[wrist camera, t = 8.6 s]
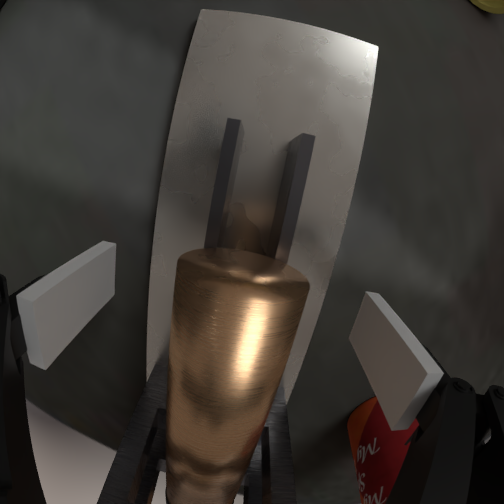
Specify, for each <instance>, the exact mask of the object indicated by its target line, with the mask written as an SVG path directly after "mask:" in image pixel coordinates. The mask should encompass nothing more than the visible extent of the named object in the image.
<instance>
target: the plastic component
mask: <svg viewBox="0 0 504 504" xmlns="http://www.w3.org/2000/svg"><path fill="white" fill-rule="evenodd" d="M470 1H471V2H472V3H473V4H474V5H476V6H477V7H479V8H480V9H482V10H484V11H487V12H490V13H494V14H504V0H470Z"/></svg>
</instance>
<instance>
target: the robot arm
mask: <svg viewBox="0 0 504 504" xmlns="http://www.w3.org/2000/svg"><path fill="white" fill-rule="evenodd" d="M5 1H6V0H0V8H1V7H2V5H3V4H4V2H5ZM115 258H116V244H115V243H110V242H106V241H102V242H100V243H99V244H97V245H95V246H93V247H92V248H90V249H88V250H87V251H85V252H83V253H82V254H80V255H78V256H77V257H75V258H73V259H72V260H70V261H68V262H67V263H65V264H64V265H62V266H60V267H59V268H57V269H56V270H54V271H52V272H51V273H49V274H46V275H43V276H40V277H38V278H36V279H34V280H33V281H31V283H28V284H27V285H25V287H22V288H21V289H19V290H18V291H16V292H15V293H13V294H12V295H10V296H8V290H7V282H6V277H5V276H3V275H1V274H0V504H46V500H45V497H44V494H43V490H42V487H41V483H40V480H39V476H38V472H37V467H36V463H35V459H34V454H33V449H32V444H31V437H30V432H29V425H28V419H27V418H28V417H27V409H26V400H25V388H24V370H23V361H22V357H21V355H22V354H23V353H24V352H25V351H26V350H27V353H28V357H29V361H30V363H31V364H33V365H35V366H37V367H40V368H42V369H44V370H46V369H47V368H48V367H49V366H50V365H51V363H52V362H53V361H54V360H55V359H56V358H57V357H58V355H59V354H60V353H61V352H62V351H63V350H64V349H65V347H66V346H67V345H68V344H69V343H70V342H71V341H72V340H73V339H74V337H75V336H76V335H77V334H78V333H79V332H80V331H81V330H82V329H83V328H84V326H85V325H86V324H87V323H88V322H89V321H90V320H91V319H92V318H93V317H94V316H95V315H96V314H97V312H98V311H99V310H100V309H101V308H102V307H103V306H104V305H105V304H106V303H107V302H108V301H109V300H110V299H111V298H112V297H113V296H114V295H115ZM349 340H350V342H351V344H352V346H353V348H354V350H355V352H356V355H357V357H358V359H359V361H360V363H361V365H362V367H363V369H364V371H365V373H366V376H367V378H368V380H369V382H370V384H371V386H372V388H373V391H374V393H375V395H376V397H377V399H378V402H379V404H380V406H381V408H382V410H383V413H384V415H385V417H386V419H387V422H388V424H389V426H390V428H391V431H394V430H405V429H408V428H409V427H410V425H411V424H412V422H413V421H414V420H415V418H416V419H417V421H418V423H419V426H418V427H417V428H416V430H415V431H414V432H413V434H412V435H411V436H410V438H409V439H408V440H407V441H406V443H405V444H404V445H406V446H407V444H408V443H409V442H411V443H410V445H409V448H408V451H407V454H406V456H405V459H404V462H403V464H402V467H401V469H400V472H399V474H398V476H397V479H396V481H395V483H394V486H393V488H392V490H391V492H390V495H389V497H388V499H387V501H386V503H385V504H504V388H503V387H501V386H497V385H492V386H490V387H489V389H488V390H487V392H486V393H485V395H480V394H476V393H475V390H474V388H473V387H472V386H471V385H470V384H469V383H468V382H466V381H465V380H463V379H460V378H450V376H449V375H448V374H447V372H446V371H445V370H444V369H443V367H442V366H441V365H440V363H439V362H437V360H436V358H435V357H433V355H432V353H431V352H430V351H429V350H428V348H426V347H425V346H424V345H422V344H421V343H420V342H419V341H418V340H417V338H416V337H415V336H414V335H413V333H412V332H411V331H410V330H409V329H408V327H407V326H406V325H405V324H404V323H403V321H402V320H401V319H400V318H399V317H398V315H397V314H396V313H395V312H394V311H393V310H392V308H391V307H390V306H389V305H388V304H387V302H386V301H385V300H384V299H383V298H382V297H381V296H380V294H379V293H373V292H367V291H366V292H365V295H364V298H363V301H362V303H361V306H360V309H359V312H358V315H357V317H356V320H355V323H354V325H353V328H352V330H351V333H350V336H349ZM490 431H491V439H490V440H489V441H488V442H487V443H486V444H485V443H484V439H485V438H486V436H487V435H488V434H489V433H490Z"/></svg>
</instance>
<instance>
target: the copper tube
mask: <svg viewBox="0 0 504 504" xmlns="http://www.w3.org/2000/svg"><path fill="white" fill-rule="evenodd" d="M309 290H310V284H309V281H308V279H307V278H306V277H305V276H304V275H303V274H302V273H301V272H299V271H298V270H297V269H295V268H293V267H292V266H290V265H288V264H286V263H283V262H281V261H279V260H276V259H273V258H270V257H267V256H264V255H261V254H257V253H253V252H248V251H243V250H236V249H227V248H202V249H195V250H191V251H188V252H186V253H184V254H182V255H181V256H180V257H179V258H178V260H177V267H176V276H175V285H174V295H173V305H172V316H171V328H170V341H169V356H168V374H167V398H166V504H233V503H234V499H235V497H236V494H237V492H238V490H239V487H240V485H241V483H242V480H243V478H244V476H245V473H246V471H247V469H248V466H249V464H250V461H251V459H252V456H253V454H254V451H255V449H256V446H257V444H258V441H259V439H260V436H261V433H262V431H263V428H264V426H265V423H266V420H267V418H268V415H269V412H270V409H271V407H272V404H273V401H274V398H275V396H276V393H277V390H278V387H279V384H280V381H281V378H282V376H283V373H284V370H285V367H286V364H287V361H288V358H289V355H290V352H291V348H292V345H293V342H294V339H295V336H296V333H297V330H298V326H299V323H300V320H301V317H302V313H303V310H304V307H305V303H306V300H307V296H308V293H309Z"/></svg>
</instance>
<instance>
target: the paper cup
mask: <svg viewBox="0 0 504 504" xmlns="http://www.w3.org/2000/svg"><path fill="white" fill-rule="evenodd" d="M418 426H419V423H418V421H417V419H416V418H415V420H414V421H413V422H412V424H411V425H410V427H409V428H408V429H405V430H394V431H391V428H390V426H389V424H388V422H387V419H386V417H385V415H384V413H383V410H382V408H381V406H380V404H379V402H378V399H377V397H376V396H375V397H373V398H371V399H369V400H367V401H365V402H364V403H362V404H361V405H359V406H358V407H357V408H356V409H355V410H354V411H353V412H352V414H351V415H350V417H349V419H348V423H347V427H348V434H349V439H350V444H351V449H352V454H353V460H354V465H355V470H356V475H357V480H358V486H359V491H360V497H361V502H362V504H385V503H386V501H387V499H388V497H389V495H390V492H391V490H392V488H393V486H394V483H395V481H396V479H397V476H398V474H399V472H400V469H401V467H402V464H403V462H404V459H405V456H406V454H407V451H408V448H409V445H410V443H411V442H409V443H408V444H407V446H406V445H404V444H405V443H406V441H407V440H408V439H409V438H410V436H411V435H412V434H413V432H414V431H415V430H416V428H417V427H418Z"/></svg>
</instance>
